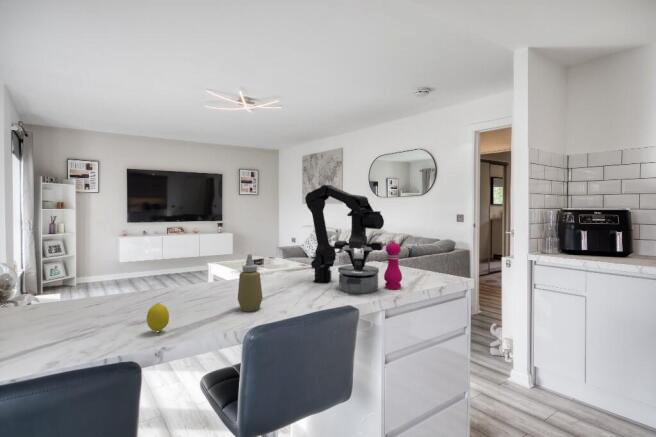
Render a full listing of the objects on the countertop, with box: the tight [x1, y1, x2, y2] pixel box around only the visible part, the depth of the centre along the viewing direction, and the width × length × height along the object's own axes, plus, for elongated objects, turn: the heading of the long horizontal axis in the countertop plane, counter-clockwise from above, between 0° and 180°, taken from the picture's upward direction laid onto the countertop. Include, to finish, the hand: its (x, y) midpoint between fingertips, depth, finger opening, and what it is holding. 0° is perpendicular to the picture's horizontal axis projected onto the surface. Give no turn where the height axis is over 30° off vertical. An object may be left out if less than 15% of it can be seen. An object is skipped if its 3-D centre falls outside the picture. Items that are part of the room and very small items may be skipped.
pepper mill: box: [383, 238, 403, 291], centre depth 151 cm, size 7×7×20 cm
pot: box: [338, 273, 379, 295], centre depth 149 cm, size 15×21×6 cm
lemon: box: [146, 302, 170, 332], centre depth 101 cm, size 6×6×8 cm
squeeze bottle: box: [237, 254, 263, 312], centre depth 122 cm, size 8×8×18 cm
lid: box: [337, 257, 380, 277], centre depth 149 cm, size 16×16×6 cm
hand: (358, 266), depth 149 cm, fingers closed on lid, 4 cm apart
